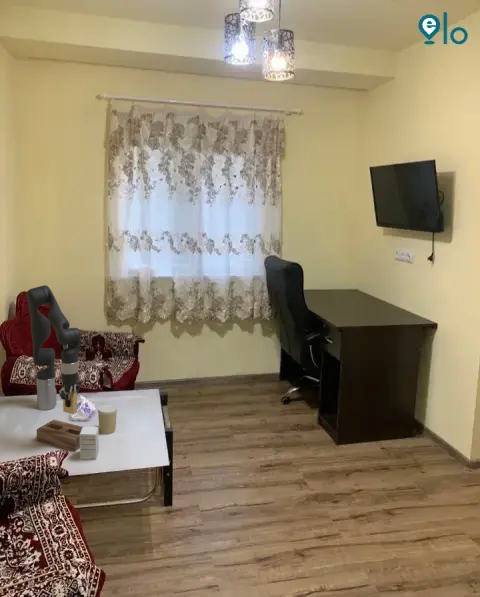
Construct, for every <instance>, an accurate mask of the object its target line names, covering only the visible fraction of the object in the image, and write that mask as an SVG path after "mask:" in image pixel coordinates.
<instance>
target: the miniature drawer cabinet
mask: <svg viewBox="0 0 480 597" xmlns="http://www.w3.org/2000/svg"><path fill="white" fill-rule="evenodd" d="M82 427H83V428H82V430H81V432H80V448H79V460H90V461H91V460H97V458H98V455H99V452H100V451H99V450H100V447H99V446H100V444H99V443H100V439H99V438H100V436H99V433H100V430H99V426H82Z"/></svg>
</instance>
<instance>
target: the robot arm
mask: <svg viewBox="0 0 480 597" xmlns="http://www.w3.org/2000/svg"><path fill="white" fill-rule="evenodd" d="M26 298H27V304H28V310H29V315H30V331H31V332H30V333H31V338H32V361H33V364H34V365H35V366H37V367H40V366H41V367H43V366H47V367H45V368H43V369H40V370H38V371H37V372H36V400H37V401H36V402H37V409H38V410H40V411H48V410H52V408H53V409H55V407H56V406H57V403H58V402H57V393H58V395H59V397H60V399H61V400H62V401H63V400H65V406H66V407H70V395H71V392H72V391H73V392H77V396H78V395H79V392H80V388H81V386H82V382H81V381H79V363H78V362H79V360H78V352H79V350H80V344H81V340H82V332H81V330H80V329H79V328H78V327H71V328H70V322H69V320H68V319H67V317H66V316H65V314H64V313H63V312H62V310H61V308H60V306H59V304H58V301H57V298H56V296H54V293H53V291H52V290H51V288H50V287H49V286H48V285H40V286H36V287H33V288H29V289H28V290H27V292H26ZM45 305H49V311H48V318H47V317H46V316H45V315H44V314H43V313H41V312H40V311H39V310H38V308H39V307H42V306H45ZM51 326H52V328H53V329H54V332H55V335H56V339H57V343H59V345H61V346H66V347H65V348H63V349H62V350H61V354H60V355H61V360H60V361H61V363H60V364H61V366H60V380H61V382H62V386H61V389H58V391H57V388H56V375H55V374H56V371H55V370H56V369H55V366H56V362H55V361H56V351H55V349H54V348H52V347H49V348H48V347H46V348H45V347H44V348H41V347H42V346H43V344H45V342H46V341H47V340H48V339H49V337H50V336H51ZM67 345H69V346H68V347H67ZM67 392H68V393H67ZM67 395H68V397H67Z"/></svg>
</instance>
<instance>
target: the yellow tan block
mask: <svg viewBox="0 0 480 597" xmlns="http://www.w3.org/2000/svg"><path fill="white" fill-rule="evenodd" d="M67 393H68V392H67ZM67 397H68V395H67ZM62 411H63V412H64V413H67V414H72V415H75V414H76V413H78V395H77V392H73V391H72V392H71V395H70V407H66V406H65V400H63V399H62Z"/></svg>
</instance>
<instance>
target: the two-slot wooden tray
mask: <svg viewBox="0 0 480 597" xmlns="http://www.w3.org/2000/svg"><path fill="white" fill-rule="evenodd" d="M83 427H84V426H81V425H77V424H72V423H69V422H66V421H60V420H58V419H52V420H51V421H49V422H47V423H45V424H43V425H42V426H40V427H38V428H37V429H36V441H37V442H39V443H43V444H47V445H50V446H54V447H57V448H61V449H65V450H66V451H67V450H68V451H72V452H76V451H78V450H80V432H81V430H82V428H83Z"/></svg>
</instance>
